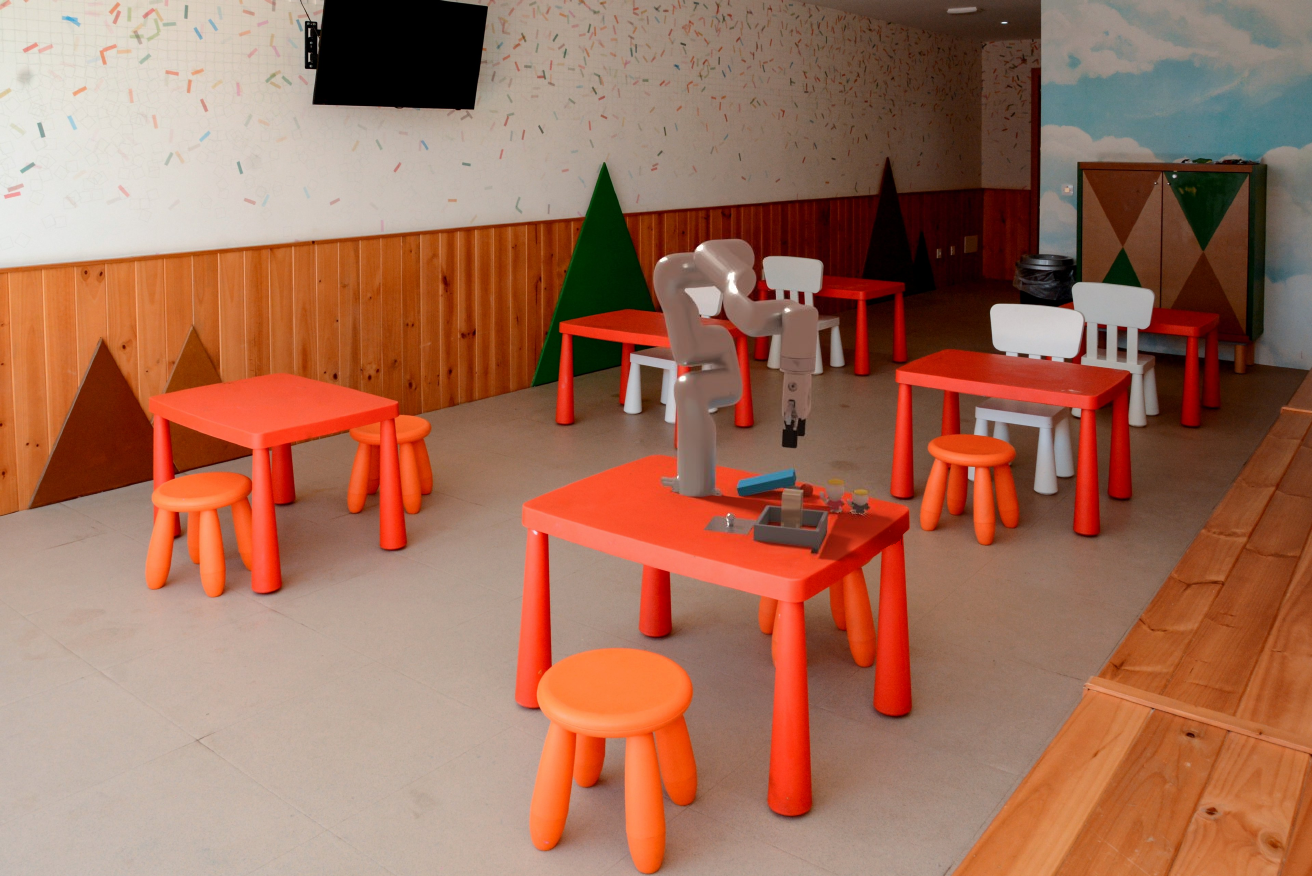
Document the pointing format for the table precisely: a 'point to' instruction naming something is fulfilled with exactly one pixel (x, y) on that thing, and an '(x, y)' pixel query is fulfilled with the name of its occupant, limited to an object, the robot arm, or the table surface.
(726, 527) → the square lid with knob
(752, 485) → the lever
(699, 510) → the table surface
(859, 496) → the toy figures
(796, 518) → the strut
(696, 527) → the table surface
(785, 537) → the bin
